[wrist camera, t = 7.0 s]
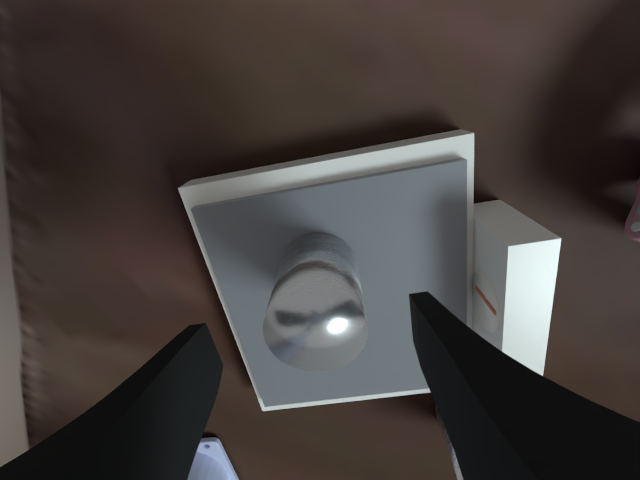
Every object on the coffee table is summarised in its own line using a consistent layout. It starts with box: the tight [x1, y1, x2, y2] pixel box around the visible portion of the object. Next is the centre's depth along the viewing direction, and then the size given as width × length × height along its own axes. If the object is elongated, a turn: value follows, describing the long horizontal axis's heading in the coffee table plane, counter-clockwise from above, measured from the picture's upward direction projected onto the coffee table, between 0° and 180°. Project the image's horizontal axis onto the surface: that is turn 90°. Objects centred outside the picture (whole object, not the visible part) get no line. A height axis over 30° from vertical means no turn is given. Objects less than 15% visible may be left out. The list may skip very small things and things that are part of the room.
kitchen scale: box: [178, 129, 561, 411], centre depth 17 cm, size 16×16×5 cm
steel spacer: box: [263, 232, 368, 372], centre depth 15 cm, size 4×4×5 cm
